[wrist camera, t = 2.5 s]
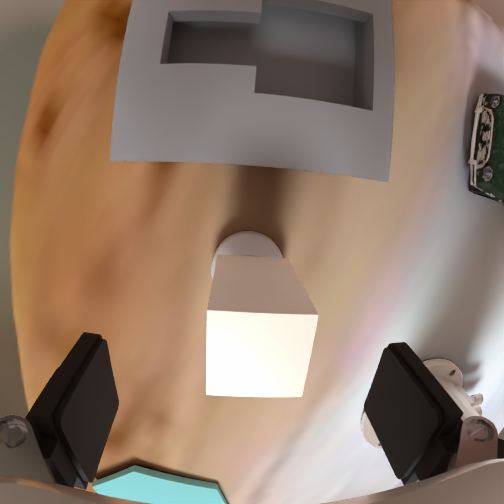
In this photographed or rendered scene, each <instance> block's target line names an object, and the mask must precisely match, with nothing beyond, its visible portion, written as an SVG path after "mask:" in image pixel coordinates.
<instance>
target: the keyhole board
mask: <svg viewBox="0 0 504 504" xmlns="http://www.w3.org/2000/svg"><path fill="white" fill-rule="evenodd" d="M393 114H394V34H393V16H392V3H391V0H133V1H132V6H131V10H130V14H129V19H128V23H127V28H126V33H125V38H124V43H123V49H122V54H121V60H120V67H119V73H118V80H117V88H116V96H115V104H114V114H113V125H112V137H111V152H110V161H168V162H198V163H219V164H235V165H250V166H262V167H274V168H284V169H294V170H304V171H313V172H321V173H329V174H337V175H344V176H352V177H359V178H365V179H372V180H378V181H384V182H388V180H389V170H390V159H391V147H392V133H393Z"/></svg>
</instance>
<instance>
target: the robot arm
mask: <svg viewBox="0 0 504 504" xmlns="http://www.w3.org/2000/svg"><path fill="white" fill-rule="evenodd" d="M482 402H483V396H482V394H480V393H479V394H475V395H472V396H470V397H469V395H468V394H467V393H466V392H465V391H464V390H463V375H462V372H461V371H460V369H459V368H458V367H457V366H456V365H455V364H454V363H453V362H452V361H449V360H446V359H431V360H427V361H424V362H422V361H421V360H420V359H419V357H418V356H417V355H416V354H415V353H414V352H413V350H412V349H411V348H410V347H409V346H408V345H407V344H406V343H405V342H400V343H391V344H389V345H388V347H387V348H385V349H384V350H383V353H382V356H381V359H380V362H379V365H378V368H377V371H376V374H375V377H374V379H373V382H372V385H371V388H370V390H369V393H368V396H367V398H366V401H365V404H364V410H365V411H364V414H363V416H362V421H361V430H362V432H363V435H364V438H365V439H366V441H367V442H368V443H369V444H371V445H372V446H375V447H378V448H383V450H384V452H385V454H386V456H387V458H388V461H389V463H390V465H391V467H392V469H393V471H394V473H395V475H396V477H397V478H398V479H401V481H402V483H403V485H404V486H402V487H398V488H394V489H391V490H387V491H383V492H379V493H375V494H371V495H366V496H362V497H357V498H352V499H347V500H341V501H335V502H329V503H322V504H504V440H502V439H499V438H498V433H497V429H496V427H495V425H494V424H493V423H492V422H491V421H489V420H488V419H486V418H484V417H481V415H482V409H481V407H480V406H476V405H479V404H481V403H482ZM118 406H119V399H118V395H117V390H116V386H115V381H114V376H113V372H112V367H111V361H110V356H109V350H108V345H107V341H106V340H105V339H102V336H101V335H100V334H94V333H87V332H84V333H83V334H82V335H81V337H80V338H79V340H78V341H77V342H76V344H75V345H74V347H73V348H72V349H71V351H70V352H69V354H68V355H67V357H66V358H65V360H64V361H63V363H62V364H61V366H60V367H58V368H57V369H56V371H55V372H54V374H53V375H52V377H51V378H50V380H49V381H48V383H47V384H46V386H45V387H44V389H43V391H42V392H41V394H40V395H39V397H38V398H37V400H36V402H35V403H34V405H33V406H32V408H31V410H30V411H29V413H28V415H27V416H26V418H23V417H21V416H18V415H6V416H4V417H1V418H0V504H150V503H144V502H138V501H132V500H126V499H120V498H115V497H110V496H106V495H101V494H97V493H93V492H88V491H85V490H86V488H87V485H88V482H90V483H92V482H93V481H94V478H95V475H96V472H97V469H98V465H99V462H100V459H101V456H102V453H103V450H104V447H105V444H106V441H107V438H108V435H109V432H110V430H111V427H112V424H113V421H114V418H115V415H116V413H117V410H118ZM74 487H78V488H81V489H85V490H81V489H76V488H74Z"/></svg>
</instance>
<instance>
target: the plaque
mask: <svg viewBox="0 0 504 504" xmlns="http://www.w3.org/2000/svg"><path fill="white" fill-rule="evenodd" d="M92 487H93V489H94V490H95V491H96V492H97V493H98V494H101V495H106V496H110V497H115V498H120V499H126V500H132V501H138V502H144V503H150V504H227V502H226V500H225V498H224V496H223V494H222V492H221V490H220V488H219V487H218V485H217V483H212V482H206V481H200V480H195V479H190V478H185V477H180V476H175V475H171V474H167V473H163V472H159V471H155V470H151V469H147V468H143V467H140V466H136V465H134V466H132V467H129V468H127V469H124V470H122V471H120V472H117V473H115V474H112V475H109V476H107V477H104V478H102V479H99V480H96V481H94V482H93V485H92Z"/></svg>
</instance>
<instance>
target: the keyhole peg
mask: <svg viewBox="0 0 504 504" xmlns="http://www.w3.org/2000/svg"><path fill="white" fill-rule="evenodd" d="M211 276H212V286H211V292H210V297H209V303H208V308H207V350H206V395H219V396H241V397H302V393H303V389H304V384H305V380H306V375H307V371H308V366H309V361H310V356H311V351H312V346H313V341H314V336H315V331H316V325H317V320H318V313H317V311H316V309H315V307H314V305H313V303H312V302H311V300H310V298H309V296H308V294H307V292H306V290H305V288H304V286H303V285H302V283H301V281H300V279H299V277H298V275H297V273H296V272H295V270H294V268H293V266H292V264H291V262H290V260H289V259H288V258H283V256H282V254H281V252H280V250H279V248H278V247H277V245H276V244H275V243H274V242H273V241H272V240H271V239H270V238H269V237H267V236H266V235H264V234H262V233H259V232H255V231H241V232H237V233H234V234H232V235H230V236H228V237H227V238H226V239H224V240H223V241H222V242H221V243H220V245H219V246H218V248H217V249H216V251H215V254H214V257H213V262H212V267H211Z"/></svg>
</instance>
